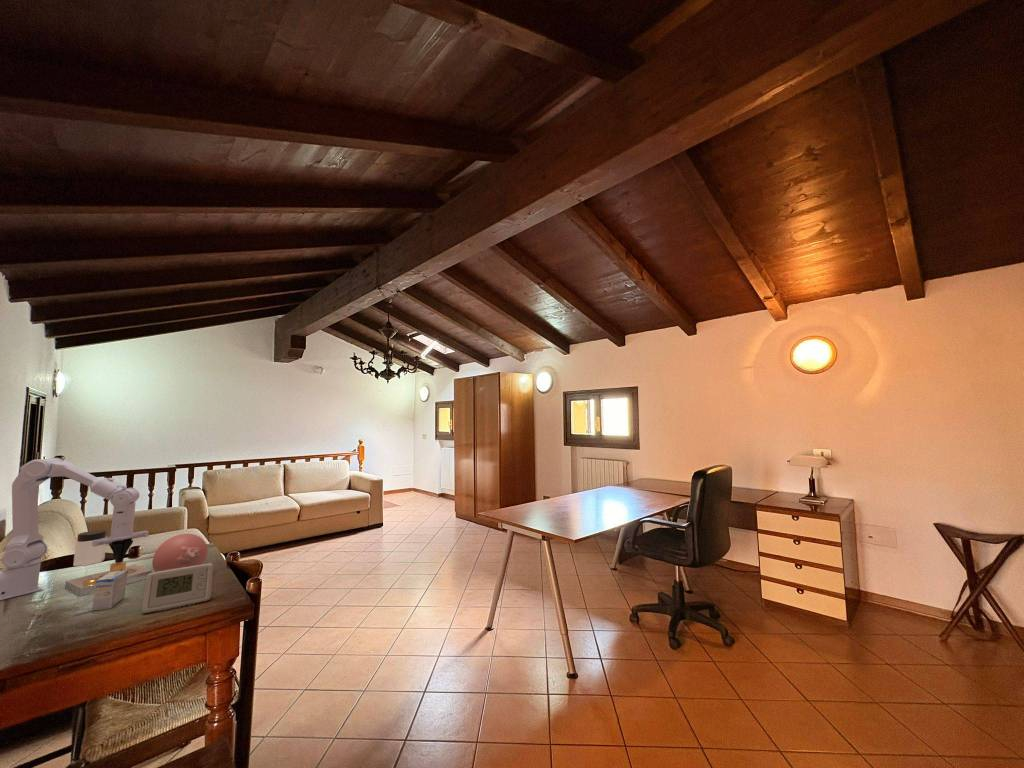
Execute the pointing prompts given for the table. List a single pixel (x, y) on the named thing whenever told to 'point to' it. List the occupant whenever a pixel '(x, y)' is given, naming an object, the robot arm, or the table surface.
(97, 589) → the medicine box
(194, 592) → the digital clock
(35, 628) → the table surface
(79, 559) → the jar
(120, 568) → the bushing
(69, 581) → the jig
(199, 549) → the pink oval ball
